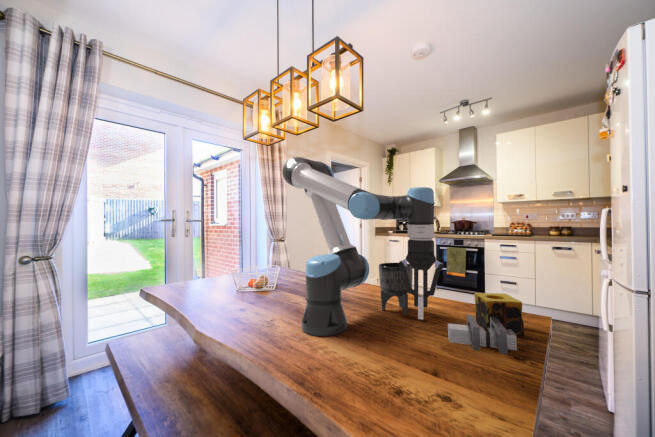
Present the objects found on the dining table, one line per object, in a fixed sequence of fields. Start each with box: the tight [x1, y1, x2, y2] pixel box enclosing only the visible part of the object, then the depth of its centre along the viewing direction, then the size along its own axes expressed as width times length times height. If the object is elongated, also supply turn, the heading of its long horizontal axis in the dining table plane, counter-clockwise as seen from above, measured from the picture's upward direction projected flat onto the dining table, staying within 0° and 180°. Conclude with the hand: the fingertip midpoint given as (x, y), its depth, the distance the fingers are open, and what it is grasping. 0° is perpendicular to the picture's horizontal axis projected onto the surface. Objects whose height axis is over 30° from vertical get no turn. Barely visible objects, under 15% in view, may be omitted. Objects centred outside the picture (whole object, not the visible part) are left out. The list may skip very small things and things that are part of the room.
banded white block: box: [447, 323, 518, 351], centre depth 72 cm, size 16×4×4 cm, turn 70°
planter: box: [378, 262, 414, 316], centre depth 101 cm, size 13×13×18 cm
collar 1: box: [466, 314, 481, 352], centre depth 73 cm, size 2×10×6 cm, turn 160°
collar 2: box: [490, 317, 508, 355], centre depth 71 cm, size 2×10×6 cm, turn 160°
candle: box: [474, 292, 525, 337], centre depth 82 cm, size 10×10×10 cm
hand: (420, 317), depth 78 cm, fingers closed
